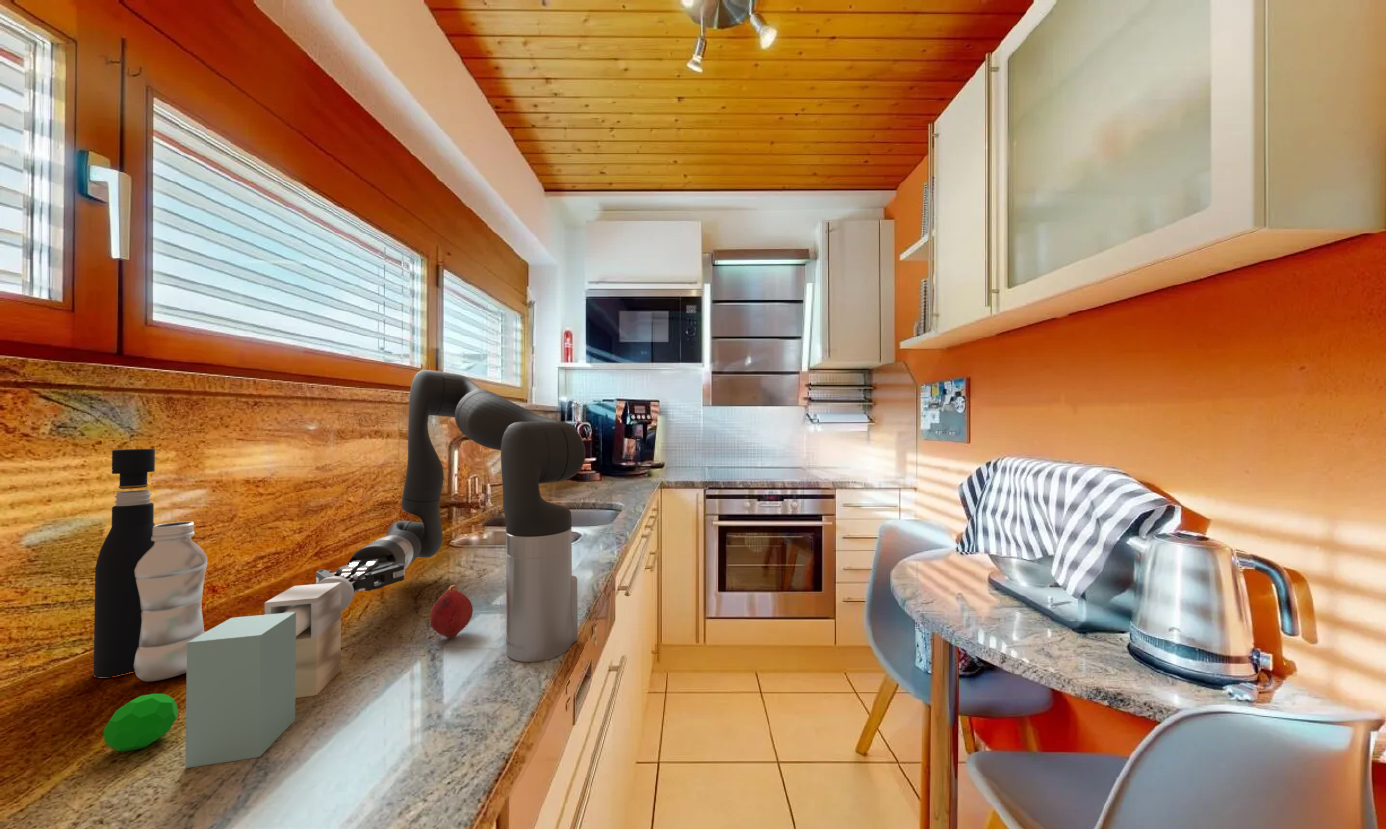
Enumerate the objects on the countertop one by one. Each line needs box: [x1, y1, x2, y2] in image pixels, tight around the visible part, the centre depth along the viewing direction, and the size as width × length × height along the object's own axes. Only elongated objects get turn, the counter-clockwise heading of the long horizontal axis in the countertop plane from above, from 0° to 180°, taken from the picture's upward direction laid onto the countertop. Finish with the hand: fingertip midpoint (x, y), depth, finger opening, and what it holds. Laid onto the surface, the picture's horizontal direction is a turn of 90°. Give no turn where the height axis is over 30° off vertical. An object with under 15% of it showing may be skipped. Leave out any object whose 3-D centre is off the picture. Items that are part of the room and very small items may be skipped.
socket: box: [184, 612, 296, 769], centre depth 49 cm, size 6×6×12 cm
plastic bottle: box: [133, 521, 209, 682], centre depth 62 cm, size 6×7×20 cm
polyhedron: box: [103, 693, 179, 752], centre depth 48 cm, size 5×5×5 cm
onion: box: [429, 584, 474, 639], centre depth 72 cm, size 6×6×8 cm
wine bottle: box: [93, 448, 156, 677], centre depth 65 cm, size 6×6×30 cm
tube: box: [284, 576, 355, 636], centre depth 58 cm, size 18×5×5 cm, turn 14°
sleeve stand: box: [264, 582, 342, 699], centre depth 59 cm, size 6×5×12 cm
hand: (333, 594), depth 66 cm, fingers closed
